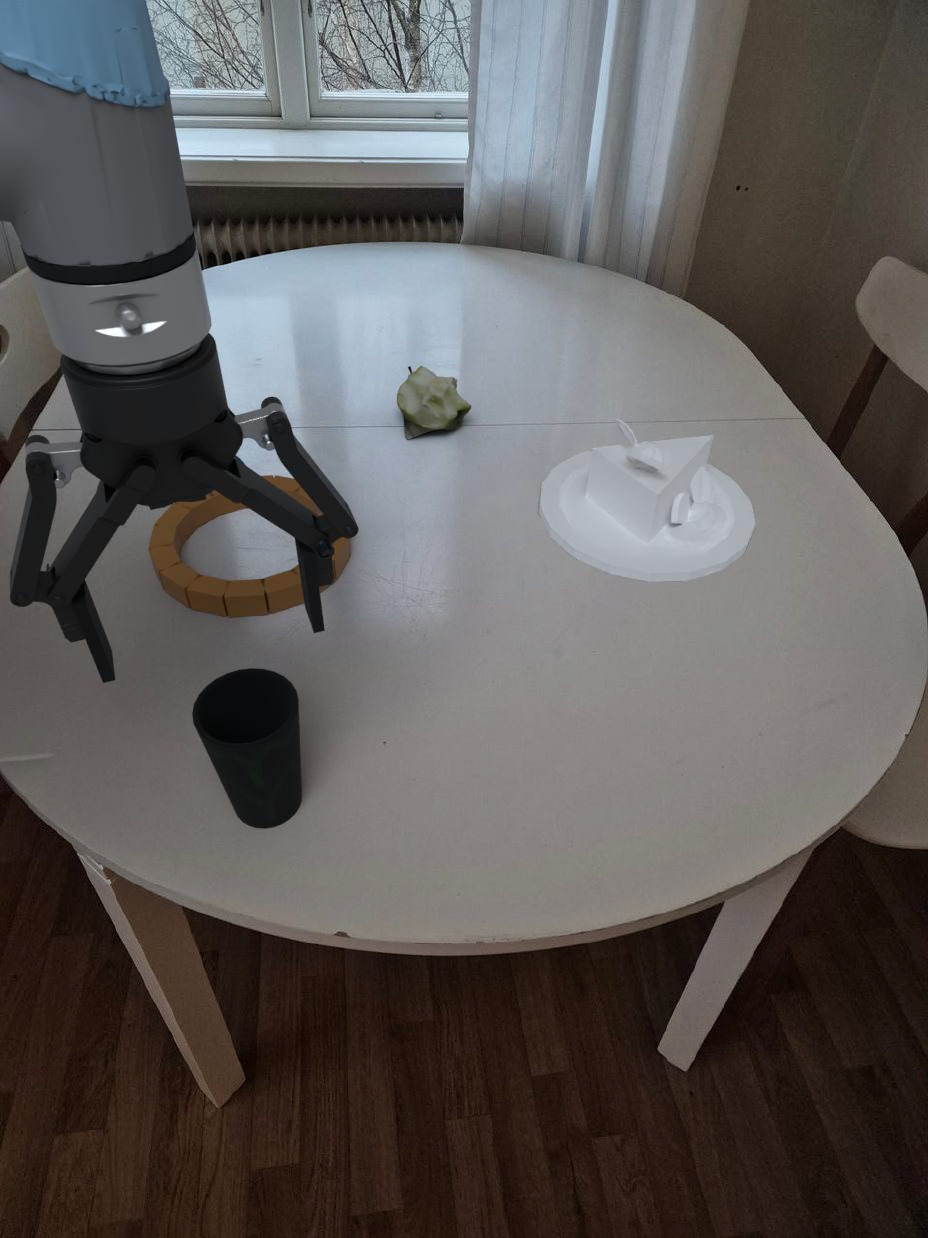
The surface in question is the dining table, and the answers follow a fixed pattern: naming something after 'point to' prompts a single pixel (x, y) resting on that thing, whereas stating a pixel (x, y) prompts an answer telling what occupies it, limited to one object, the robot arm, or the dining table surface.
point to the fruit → (430, 403)
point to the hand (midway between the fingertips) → (214, 642)
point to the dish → (647, 509)
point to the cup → (253, 743)
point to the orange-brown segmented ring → (221, 593)
